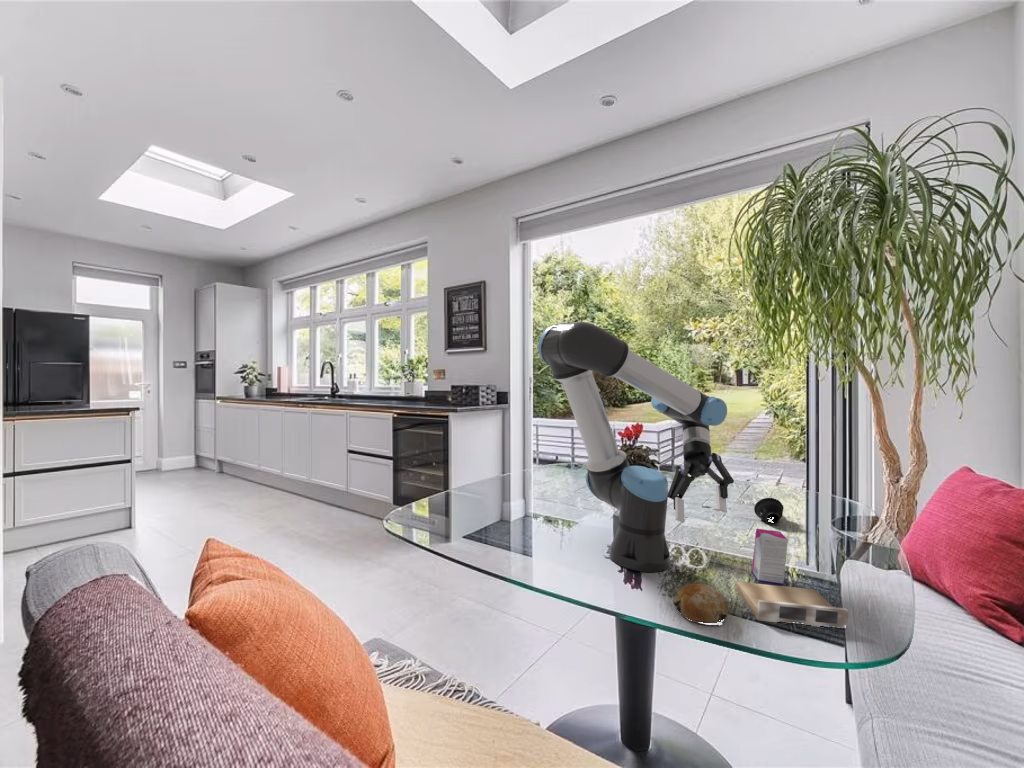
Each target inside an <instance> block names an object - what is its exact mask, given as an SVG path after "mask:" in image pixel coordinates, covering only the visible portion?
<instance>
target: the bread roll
mask: <svg viewBox="0 0 1024 768" xmlns="http://www.w3.org/2000/svg"><path fill="white" fill-rule="evenodd" d="M672 602H673V604H674V606H675V607H676V611H677V610H678V611H679V612H680V613H681V614H680V613H679V612H678V611H677V612H678V613H679V614H680V616H682V615H683V616H684V617H683V616H682V617H683V618H685V617H687V618H688V619H690V620H692V621H694V622H693V623H695V622H703V623H717V622H721V620H723V619H725V620H726V618H727V617H728V612H729V611H728V609H729V607H728V603H727V601H726V599H725V597H724V596H723V594H721V592H719V591H718V590H717V589H716V587H714V586H711V585H708V584H706V583H700V582H699V583H698V582H697V583H689V584H686V585H684V586H682V588H680V589H678V590H677V591H676V593H675V596H674V597H673V601H672ZM688 619H687V620H688ZM719 620H720V621H719Z"/></svg>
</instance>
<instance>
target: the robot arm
mask: <svg viewBox="0 0 1024 768" xmlns="http://www.w3.org/2000/svg"><path fill="white" fill-rule="evenodd" d="M537 348H538V354H539V357H540V359H541V360H542V362H544V363H545V364H546V365H548V366H550V367H549V368H550V370H551V374H552V376H553V378H554V380H555V381H557V382H560V383H561V384H562V386H563V387H562V388H563V389H564V393H565V395H566V398H567V400H568V403H569V407H570V409H571V412H572V414H573V417H574V420H575V422H576V425H577V429H578V431H579V433H580V437H581V440H582V442H583V445H584V447H585V451H586V453H587V457H588V459H587V462H586V464H585V466H586V469H587V470H586V473H585V483H586V487H587V489H588V490H589V492H590V493H591V494H592V495H593V496H595V498H597V499H598V500H600V501H602V502H604V503H606V504H608V505H610V506H611V507H613V508H614V509H616V510H618V511H619V513H618V517H619V518H618V528H617V530H616V532H615V535H614V537H613V540H612V542H611V545H610V547H609V548H610V549H609V557H610V559H611V560H612V562H614V563H615V564H616V565H618V566H621V567H622V568H626V569H628V570H632V571H636V572H642V573H657V572H663V571H665V570H667V569H668V568H669V567H670V565H671V564H670V563H671V562H670V561H671V554H670V551H669V550H670V549H669V546H668V542H667V538H666V533H665V532H666V519H667V510H668V498H669V499H671V500H673V510H674V511H675V512H674V513H675V516H674V517H675V521H677V522H680V523H681V524H684V523H685V522H686V521H685V501H684V499H683V498H684V495H685V494H686V492H687V490H688V488H689V487H690V486H691V483H692V482H693V481H695V479H697V478H700V477H702V476H706V474H707V475H708V476H709V477H710V478H712V480H713V481H714V482H716V483H717V485H715V494H716V495H715V496H716V508H717V510H718V511H720V512H722V513H724V514H725V513H728V508H727V507H728V506H727V499H728V498H729V492H728V491H729V490H728V487H729V485H730V484H731V485H732V484H734V483H735V479H734V478H733V477H732V475H731V474H730V473H729V471H728V469H727V467H726V466H725V464H724V463H723V462H722V456H721V455H720V454H718V453H715V452H712V446H711V433H710V432H711V430H710V426H713V427H716V426H719V425H721V424H723V422H724V421H725V420H726V418H727V415H728V407H727V406H728V405H727V404H726V402H725V401H724V400H723V399H721V398H718V397H715V396H708V395H707V394H705V393H703V392H701V391H700V390H699V389H698V390H697V389H696V388H694V387H693V386H691V385H690V384H688V383H686V382H685V381H683V380H680V379H679V378H677V377H675V376H674V375H672V374H671V373H669V372H667V371H666V370H665V369H663V368H662V367H659V366H657V365H656V364H654V363H652V362H650V361H649V360H648V359H646V358H644V357H642V356H641V355H639V354H638V353H635V352H634V351H632V350H630V345H629V344H628V343H627V342H625V341H623V340H621V338H618V337H617V336H615V335H614V334H612V333H610V332H608V330H605V329H603V328H601V327H600V326H597V325H595V324H593V323H590V322H586V321H576V322H561V323H556V324H553V325H551V326H549V327H548V328H546V329H544V331H543V332H542V334H541V336H540V338H539V340H538V345H537ZM593 372H596V373H598V374H601V375H602V376H604V377H607V378H612V377H615V378H616V379H618V380H620V381H621V382H624V383H626V384H628V385H629V386H631V387H633V388H635V389H636V390H638V391H641V392H642V393H644V394H645V395H648V396H649V397H650V399H651V401H650V402H651V403H650V405H651V406H652V408H653V409H655V410H656V411H657V412H658V413H660V414H663V415H664V416H666V417H668V418H670V419H671V420H674V421H676V422H677V423H679V424H680V425H682V445H683V447H682V453H683V458H684V465H682V466H680V465H676V466H675V473H674V476H673V478H672V481H671V485H670V487H669V481H668V479H667V477H666V476H665V475H664V474H663V473H662V472H661V471H658V470H657V469H654V468H651V467H650V468H648V467H646V466H641V465H630V463H629V459H628V457H627V454H626V453H625V451H624V450H621V449H619V447H618V445H617V441H616V439H615V435H614V433H613V430H612V427H611V424H610V422H609V418H608V415H607V412H606V409H605V406H604V403H603V401H602V398H601V395H600V392H599V388H598V386H597V382H596V380H595V377H594V374H593ZM712 463H713V465H714V466H715V468H716V469H717V471H718V472H719V474H720V475H721V476H719V475H718V474H717V473H716V472H715V471H714V470H713V469H712V468H711V465H712Z"/></svg>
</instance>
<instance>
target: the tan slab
mask: <svg viewBox="0 0 1024 768" xmlns="http://www.w3.org/2000/svg"><path fill="white" fill-rule="evenodd" d="M735 590H736V592H737V593H738V595H739V596H740V597H741V599H742V600H743V602H744V603H745V604H746V606H747V607H748V609H749V610H750V611H751V613H752V614H753V615H754V617H755V618H756V620H757V621H761V622H769V623H777V622H779V621H783V622H802V623H804V624H807V625H811V626H810V627H817V628H821V627H820V626H822V625H825V624H828V625H831V626H835V627H843V626H844V625H846V624H847V625H848V618H849V610H848V608H845V607H834V605H832V604H831V603H830V602H829V601H828V600H827V599H826V598H824V597H823V595H821V593H820V592H818V591H817V590H816V589H814V588H808V587H807V588H804V587H796V586H784V585H775V584H766V583H754V582H744V581H736V589H735Z"/></svg>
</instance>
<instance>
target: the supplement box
mask: <svg viewBox="0 0 1024 768" xmlns="http://www.w3.org/2000/svg"><path fill="white" fill-rule="evenodd" d="M788 541H789V539H788V538H787V537H786V536H784V534H783V533H781V531H779V530H770V529H763V528H756V529H755V538H754V547H753V555H752V567H751V573H752V574H751V575H753V576H754V578H755V580H756V582H758V583H759V584H767V585H776V586H784V582H785V581H784V579H785V573H786V572H785V571H786V564H787V563H786V562H787V553H788V543H789V542H788Z"/></svg>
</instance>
